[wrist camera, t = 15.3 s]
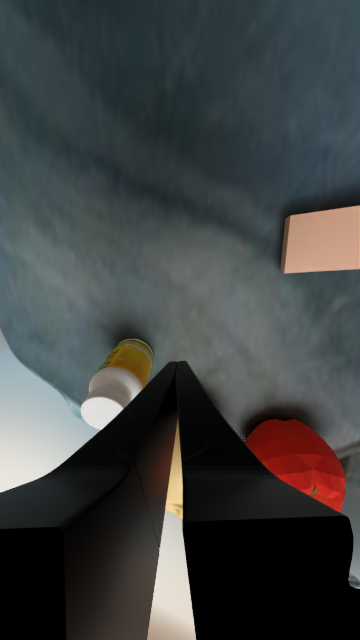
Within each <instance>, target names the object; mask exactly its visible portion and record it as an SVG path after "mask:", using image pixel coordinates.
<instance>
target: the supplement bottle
mask: <svg viewBox="0 0 360 640" xmlns="http://www.w3.org/2000/svg"><path fill="white" fill-rule="evenodd" d="M153 360H154V356H153V352H152V350H151V348H150V347H149V345H147V344H146V343H145V342H143V341H141V340H139V339H126V340H123V341H121V342H120V343H119V344H118V345H117V346H116V347H115V349H114V350H113V351H112V353H111V354H110V355H109V357H108V358H107V359H106V360H105V362H104V363H103V364H102V365H101V367H100V368H99V369H98V371H97V372H96V373H95V374H94V376H93V377H92V379H91V381H90V385H89V394H88V396H87V397H86V399H85V400H84V402H83V404H82V406H81V415H82V417H83V419H84V420H85V421H86V422H87V423H88V424H89V425H91V426H93V427H94V428H96V429H100V430H102V429H103V428H104V427H105V426H106V425H107V424H108V423H109V422H110V421H111V420H112V419H114V418H115V417H116V416H117V415H118V414H119V413H120V412H121V411H122V410H123V409H124V408H125V407H126V406H127V405H128V404H129V403H130V402H131V401H132V400H133V398H134V397H135V396H136V395H137V394H138V393H139V392H140V391H141V390H142V389H143V388H144V387H145V386H146V382H147V379H148V376H149V373H150V370H151V367H152V364H153Z"/></svg>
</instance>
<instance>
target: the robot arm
mask: <svg viewBox="0 0 360 640" xmlns="http://www.w3.org/2000/svg"><path fill="white" fill-rule="evenodd" d="M177 422H178V424H179V438H180V452H181V463H182V464H181V466H182V484H183V538H184V545H185V553H186V561H187V569H188V577H189V585H190V593H191V601H192V609H193V616H194V625H195V633H196V640H360V589H356V588H354V587H352V586H350V584H349V581H348V577H349V571H350V565H351V560H352V553H353V532H352V528H351V524H350V520H349V518H348V517H347V516H345V515H343V514H342V513H340V512H338V511H336V510H334V509H333V508H331V507H329V506H327V505H325V504H324V503H322V502H320V501H318V500H316V499H315V498H313V497H311V496H309V495H307V494H306V493H304V492H302V491H300V490H298V489H297V488H295V487H293V486H291V485H289V484H288V483H286V482H284V481H282V480H281V479H279V478H278V477H277V476H275V475H274V474H273V473H272V472H271V471H270V470H269V469H268V468H267V467H266V466H265V465H264V464H263V463H262V462H261V461H260V460H259V459H258V458H257V456H256V455H255V454H254V453H253V452H252V451H251V449H250V448H249V447H248V446H247V445H246V444H245V443H244V441H243V440H242V439H241V438H240V437H239V436H238V434H237V433H236V432H235V431H234V430H233V429H232V427H231V426H230V425H229V424H228V422H227V421H226V420H225V419H224V417H223V416H222V414H221V413H220V412H219V410H218V409H217V407H216V406H215V404H214V403H213V401H212V400H211V398H210V397H209V395H208V394H207V392H206V391H205V389H204V387H203V386H202V384H201V383H200V381H199V380H198V378H197V377H196V375H195V374H194V372H193V371H192V369H191V368H190V366H189V365H188V363H187V362H186V361H179V362H177V361H174V362H169V363H168V364H167V365H166V366H165V367H164V368H163V369H162V370H161V371H160V372H159V373H158V374H157V375H156V376H155V377H154V378H153V379H152V380H151V381H150V382H149V383H148V384H147V385H146V386H145V387H144V388H143V389H142V390H141V391H140V392H139V393H138V394H137V395H136V396H135V397H134V398H133V400H132V401H131V402H130V403H129V404H128V405H127V406H126V407H125V408H124V409H123V410H122V411H121V412H120V413H119V414H118V415H117V416H116V417H115V418H114V419H112V420H111V421H110V422H109V423H108V424H107V425H106V426H105V427H104V428H103V429H102V430H100V431H99V432H98V433H97V434H96V435H95V436H94V437H93V438H91V439H90V440H89V441H88V442H87V443H85V444H84V445H83V446H82V447H81V448H80V449H79V450H77V451H76V452H75V453H74V454H73V455H72V456H71V457H69V458H68V459H67V460H66V461H65V462H64V463H62V464H61V465H60V466H58V467H57V468H56V469H54V470H53V471H51V472H50V473H48V474H47V475H45V476H43V477H41V478H39V479H37V480H34V481H32V482H29V483H26V484H23V485H21V486H18V487H15V488H12V489H10V490H7V491H4V492H1V493H0V640H147V635H148V628H149V620H150V614H151V607H152V600H153V593H154V585H155V578H156V571H157V564H158V557H159V548H160V542H161V535H162V528H163V521H164V514H165V507H166V500H167V493H168V486H169V478H170V471H171V464H172V457H173V450H174V443H175V436H176V429H177Z"/></svg>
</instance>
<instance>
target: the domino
mask: <svg viewBox="0 0 360 640" xmlns="http://www.w3.org/2000/svg"><path fill="white" fill-rule="evenodd" d="M351 269H360V206H353V207H346V208H339V209H332V210H325V211H318V212H312V213H305V214H298V215H291V216H289V217H287V218H285V227H284V237H283V247H282V257H281V267H280V271H281V272H283V273H298V272H316V271H333V270H351Z"/></svg>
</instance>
